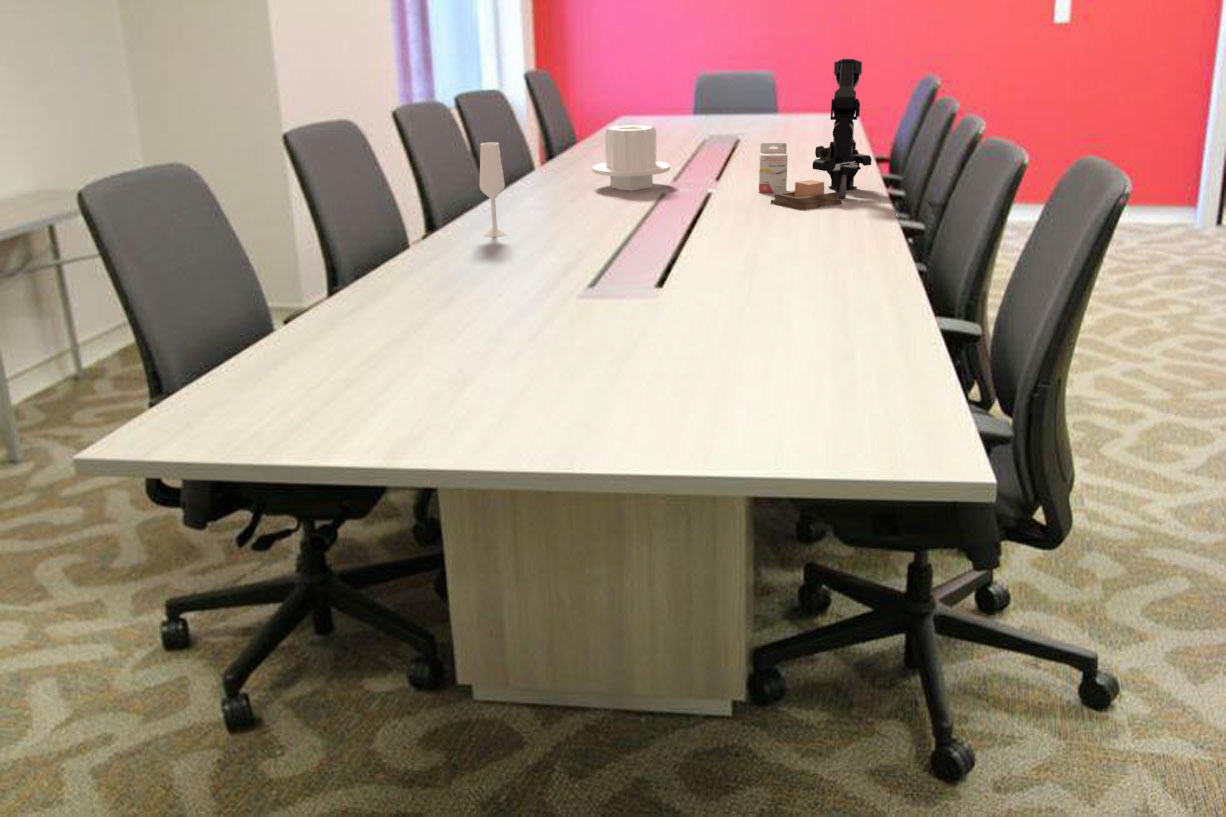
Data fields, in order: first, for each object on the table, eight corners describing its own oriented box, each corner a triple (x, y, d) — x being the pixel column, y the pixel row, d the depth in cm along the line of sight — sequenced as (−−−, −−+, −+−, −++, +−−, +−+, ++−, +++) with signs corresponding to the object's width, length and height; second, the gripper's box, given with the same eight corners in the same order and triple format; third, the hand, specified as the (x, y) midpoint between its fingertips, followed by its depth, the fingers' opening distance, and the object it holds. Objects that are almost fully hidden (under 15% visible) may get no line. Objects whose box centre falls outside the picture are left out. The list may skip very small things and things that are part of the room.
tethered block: (837, 195, 356) (838, 173, 353) (851, 197, 351) (852, 176, 349) (794, 201, 347) (795, 179, 345) (808, 204, 342) (808, 182, 340)
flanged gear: (628, 197, 364) (627, 134, 357) (577, 188, 382) (575, 128, 375) (686, 186, 379) (686, 126, 373) (634, 178, 397) (633, 121, 390)
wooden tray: (809, 197, 355) (809, 187, 354) (841, 203, 344) (842, 193, 343) (770, 203, 348) (770, 193, 347) (802, 210, 336) (802, 199, 335)
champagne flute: (479, 233, 318) (473, 143, 309) (503, 230, 320) (497, 141, 312) (486, 237, 312) (481, 146, 304) (511, 235, 314) (505, 144, 306)
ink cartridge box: (758, 193, 364) (759, 145, 359) (758, 190, 369) (759, 142, 364) (786, 193, 363) (787, 144, 358) (786, 190, 368) (787, 142, 363)
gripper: (848, 133, 358) (845, 184, 363) (801, 138, 348) (799, 191, 354) (874, 136, 349) (871, 189, 354) (826, 142, 340) (824, 196, 345)
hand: (841, 191), depth 352 cm, fingers closed on tethered block, 3 cm apart
